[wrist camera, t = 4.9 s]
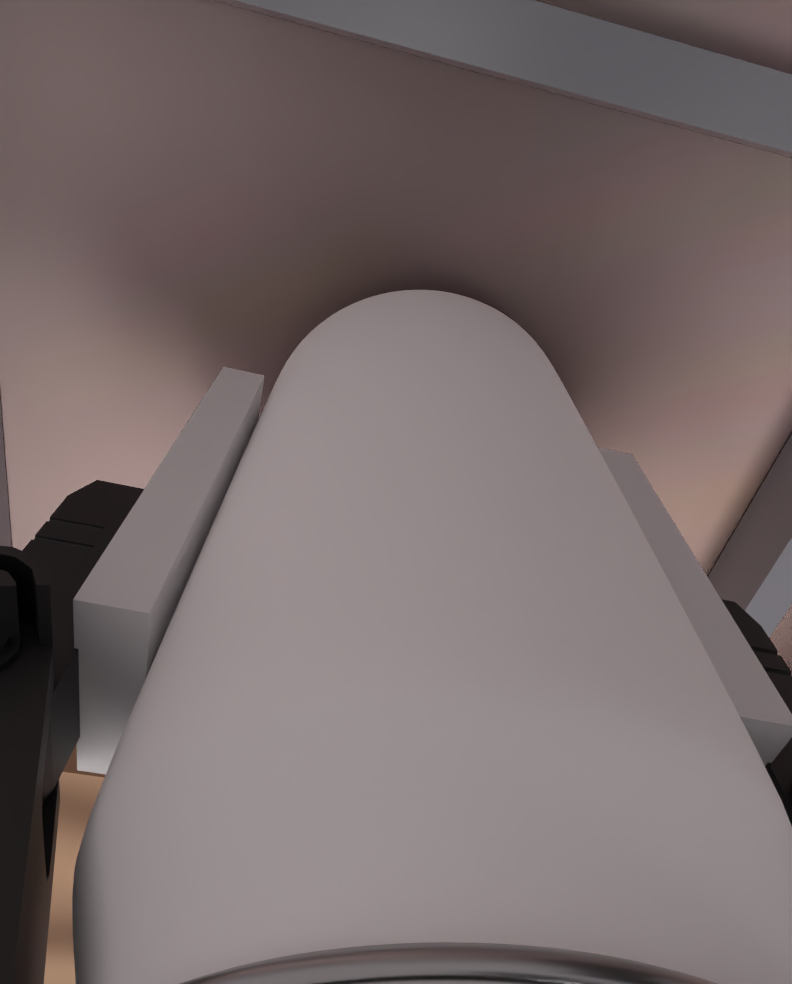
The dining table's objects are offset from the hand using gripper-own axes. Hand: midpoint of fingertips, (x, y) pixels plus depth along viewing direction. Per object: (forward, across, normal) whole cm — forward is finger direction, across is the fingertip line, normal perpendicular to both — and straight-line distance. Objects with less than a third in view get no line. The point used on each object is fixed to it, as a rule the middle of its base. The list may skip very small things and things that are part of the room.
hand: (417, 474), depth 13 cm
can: (+2, 0, 0) cm, 2 cm away
